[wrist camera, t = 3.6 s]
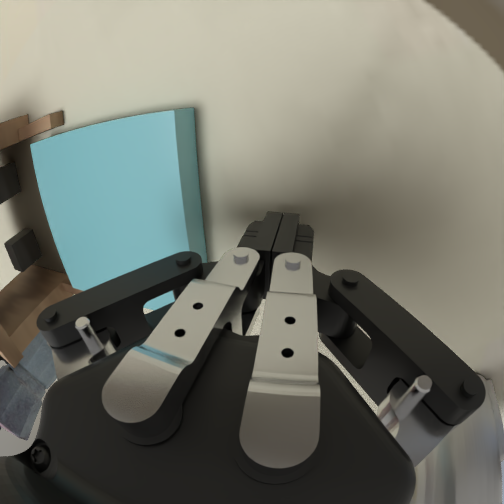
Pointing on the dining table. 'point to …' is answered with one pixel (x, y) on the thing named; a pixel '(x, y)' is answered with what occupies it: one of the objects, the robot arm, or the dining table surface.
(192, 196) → the teal plate
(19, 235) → the overhang bridge
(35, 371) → the moka pot
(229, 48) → the dining table surface
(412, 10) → the dining table surface
